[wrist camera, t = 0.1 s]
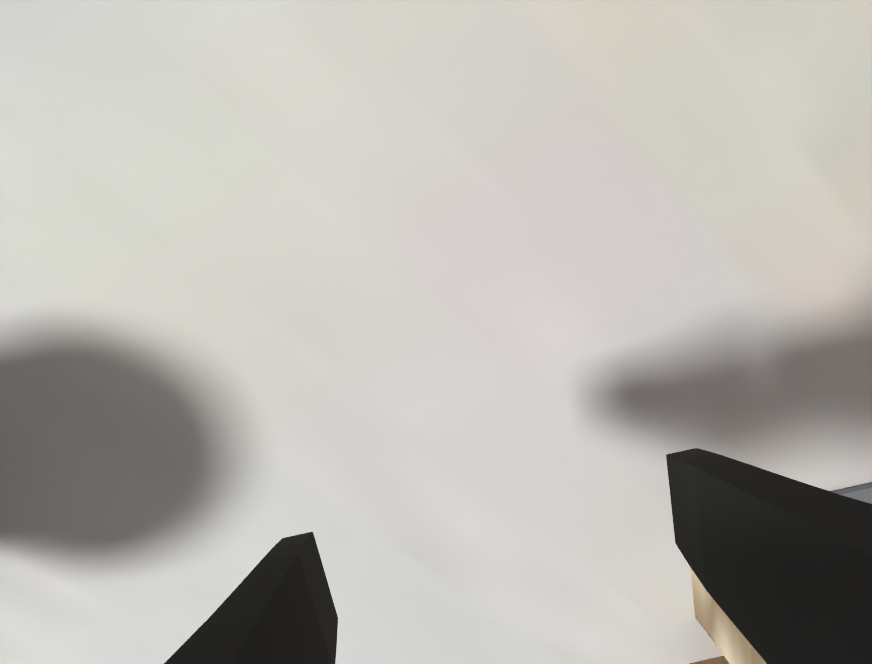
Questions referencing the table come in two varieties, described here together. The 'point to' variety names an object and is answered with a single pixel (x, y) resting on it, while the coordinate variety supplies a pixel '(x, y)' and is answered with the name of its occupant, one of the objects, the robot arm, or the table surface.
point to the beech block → (722, 628)
